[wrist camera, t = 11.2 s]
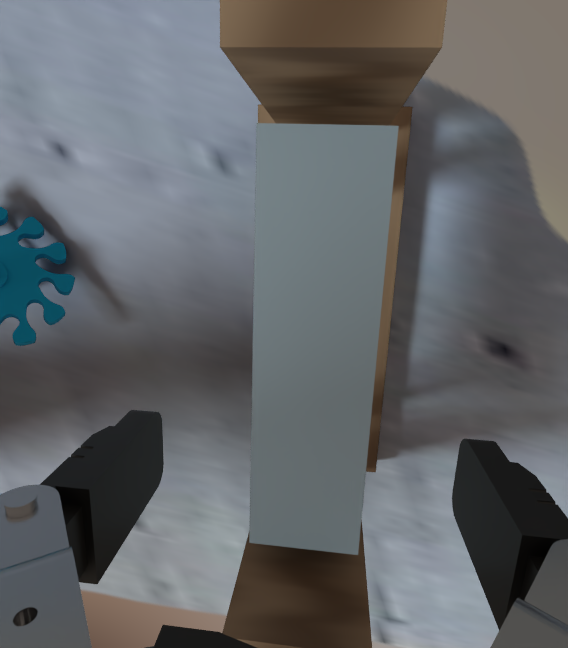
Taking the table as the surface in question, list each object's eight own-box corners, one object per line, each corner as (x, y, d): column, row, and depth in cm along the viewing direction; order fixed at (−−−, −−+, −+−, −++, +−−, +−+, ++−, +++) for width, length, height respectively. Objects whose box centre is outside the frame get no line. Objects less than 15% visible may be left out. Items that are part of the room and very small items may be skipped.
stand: (255, 449, 34) (186, 660, 18) (262, 109, 28) (165, -16, 12) (373, 460, 33) (407, 691, 18) (408, 112, 27) (510, -20, 11)
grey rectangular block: (270, 137, 19) (256, 123, 16) (387, 140, 19) (398, 125, 15) (261, 494, 24) (249, 542, 21) (354, 503, 24) (358, 555, 20)
